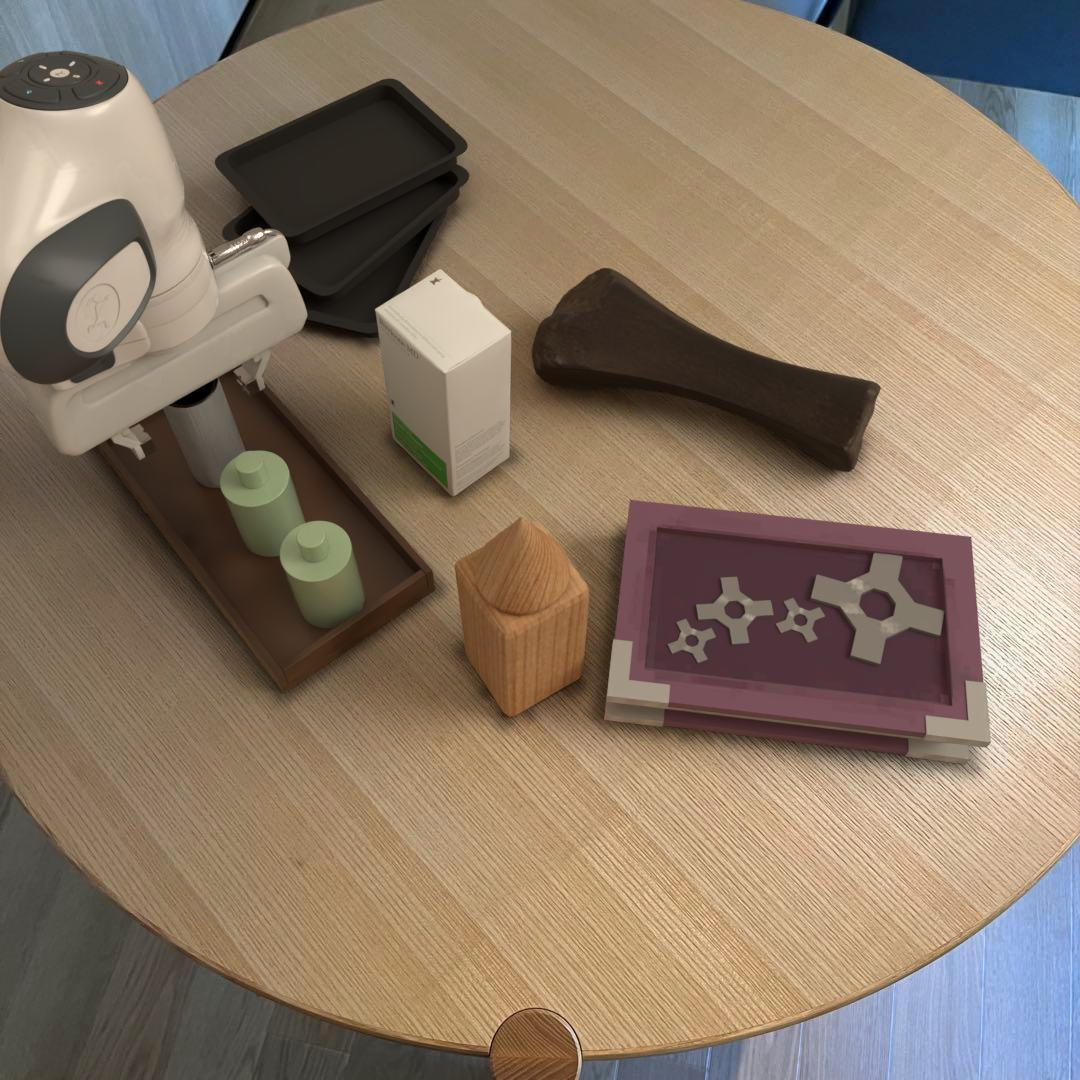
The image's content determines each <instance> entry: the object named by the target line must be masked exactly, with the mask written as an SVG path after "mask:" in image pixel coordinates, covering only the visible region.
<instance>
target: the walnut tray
mask: <svg viewBox="0 0 1080 1080" xmlns="http://www.w3.org/2000/svg"><path fill="white" fill-rule="evenodd" d="M241 366H242V364H241V365H239V366H237V367H235V368H234V369H232V370H230V371H228V372H227V373H225V374H223V375H221V376H219V377H218V378H219V380H220V383H221V386H222V388H223V391H224V394H225V397H226V399H227V402H228V405H229V407H230V410H231V413H232V415H233V418H234V421H235V424H236V426H237V429H238V432H239V434H240V437H241V440H242V442H243V445H244V448H245V451H268V452H271V453H274V454H276V455H278V456H279V457H281V458H282V459H283V460H284V461H285V463H286V464H287V466H288V469H289V472H290V475H291V478H292V481H293V484H294V487H295V490H296V494H297V497H298V500H299V503H300V506H301V509H302V512H303V515H304V518H305V521H306V523H308V522H312V521H327V522H331V523H334V524H336V525H338V526H339V527H341V528H342V529H343V530H344V531H345V532H346V533H347V534H348V536H349V538H350V541H351V544H352V548H353V551H354V555H355V559H356V562H357V566H358V570H359V574H360V577H361V581H362V585H363V588H364V593H365V600H364V604H363V607H362V609H361V610H360V611H359V612H357V613H356V614H354V615H353V616H351V617H350V618H349V619H347V620H346V621H344V622H343V623H341V624H340V625H338V626H337V627H335V628H330V629H325V628H319V627H316V626H314V625H312V624H310V623H308V622H307V621H306V620H305V619H304V618H303V617H302V615H301V614H300V611H299V609H298V606H297V604H296V601H295V598H294V596H293V593H292V591H291V588H290V585H289V583H288V580H287V577H286V575H285V572H284V569H283V567H282V564H281V561H280V556H276V557H265V556H260V555H257V554H255V553H253V552H251V551H250V550H249V549H248V548H247V547H246V546H245V544H244V542H243V540H242V538H241V536H240V533H239V531H238V528H237V526H236V524H235V521H234V519H233V517H232V514H231V512H230V510H229V507H228V505H227V502H226V500H225V498H224V495H223V493H222V491H221V488H209V487H206V486H203V485H202V484H200V483H199V482H198V481H197V480H196V479H195V478H194V476H193V474H192V472H191V470H190V468H189V465H188V463H187V461H186V459H185V457H184V454H183V452H182V450H181V448H180V445H179V443H178V441H177V439H176V437H175V434H174V432H173V430H172V428H171V425H170V423H169V421H168V419H167V417H166V414H165V412H164V410H163V409H161V410H159V411H157V412H155V413H154V414H152V415H150V416H148V417H147V418H145V419H143V420H141V421H139V422H138V423H136V424H134V425H132V426H131V427H129V429H130V428H132V427H134V426H136V425H138V424H140V425H141V426H142V427H143V428H144V430H145V432H146V433H148V435H149V436H150V437H151V439H152V441H153V443H154V446H155V447H156V449H157V451H155V452H153V453H151V454H150V455H148V456H146V457H145V458H143V459H142V460H139V459H138V458H137V457H136V456H135V454H134V453H133V452H132V450H131V449H130V448H128V447H125V446H122V445H119V444H116V443H114V442H113V441H112V440H111V439H110V438H109V439H107V440H106V441H104V442H102V443H100V444H99V445H97V446H95V448H96V449H97V451H98V452H99V453H100V454H101V455H102V457H103V458H104V459H105V461H106V462H107V463H108V465H109V466H110V468H111V469H112V470H113V472H115V474H116V475H117V476H118V478H119V479H120V480H121V482H122V483H123V484H124V486H125V487H126V488H127V489H128V491H129V492H130V493H131V495H132V496H133V497H134V499H135V500H136V502H137V503H138V504H139V506H140V507H141V508H142V510H144V512H145V513H146V514H147V515H148V517H149V519H151V521H152V522H153V524H154V525H155V526H156V527H157V529H158V530H159V532H160V533H161V534H162V535H163V536H164V538H165V539H166V540H167V542H168V543H169V544H170V546H171V547H172V548H173V550H174V551H175V552H176V554H177V555H178V556H179V558H180V559H181V560H182V562H183V563H184V564H185V565H186V567H187V568H188V570H189V571H190V572H191V574H192V575H193V576H194V577H195V579H196V580H197V581H198V583H199V584H200V585H201V587H202V588H203V590H205V592H206V593H207V594H208V596H209V598H211V599H212V601H213V602H214V603H215V605H216V606H217V608H218V609H219V610H220V611H221V613H222V614H223V616H224V617H225V618H226V619H227V621H228V622H229V623H230V625H231V626H232V627H233V629H234V630H235V631H236V633H237V634H238V635H239V636H240V638H241V639H242V640H243V642H244V643H245V644H246V645H247V647H248V648H249V649H250V651H251V652H252V653H253V655H254V656H255V657H256V659H257V660H258V661H259V662H260V664H261V665H262V666H263V668H264V669H265V670H266V671H267V673H268V675H269V676H270V677H271V679H272V680H273V681H274V682H275V683H276V685H277V686H278V687H279V689H280V690H281V691H282V693H283V694H286V693H288V692H289V691H291V690H292V689H294V687H296V686H298V685H299V684H301V683H302V682H304V681H306V680H307V679H308V678H309V677H311V676H312V675H314V674H315V673H316V672H318V671H320V670H321V669H323V668H324V667H325V666H327V665H328V664H329V663H332V662H333V661H334V660H335V659H337V658H339V657H340V656H341V655H343V654H344V653H345V652H347V651H348V650H350V649H351V648H353V647H354V646H356V645H357V644H358V643H360V642H362V641H363V640H364V639H366V638H367V637H369V636H370V635H372V634H374V632H376V631H378V630H379V629H380V628H382V627H384V626H385V625H387V624H388V623H389V622H391V621H392V620H393V619H395V618H396V617H398V616H399V615H401V614H402V613H404V612H405V611H406V610H408V609H409V608H411V607H413V606H414V605H415V604H417V603H419V602H420V601H421V600H423V599H424V598H425V597H427V596H429V595H430V594H431V593H433V592H434V591H435V590H436V586H435V585H436V584H435V578H434V573H433V569H432V568H431V567H430V566H429V564H428V563H427V562H426V561H425V559H423V558H422V557H421V555H419V554H418V552H417V551H416V550H415V548H413V547H412V546H411V545H410V543H409V542H408V541H407V540H406V539H405V538H404V537H403V535H402V534H401V533H400V532H399V530H398V529H396V528H395V527H394V526H393V524H392V523H391V522H390V521H389V520H388V519H387V518H386V516H385V515H384V514H383V513H382V511H380V510H379V509H378V508H377V507H376V505H375V504H374V503H373V502H372V500H370V499H369V497H368V496H367V495H366V494H365V493H364V492H363V491H362V490H361V489H360V488H359V486H358V485H357V484H356V483H355V482H354V480H352V479H351V477H350V476H349V475H348V474H347V473H346V472H345V471H344V469H343V468H342V467H341V466H340V465H339V464H338V463H337V462H336V461H335V460H334V458H333V457H332V456H331V455H330V454H329V453H328V452H327V451H326V449H325V448H323V446H322V445H321V444H320V443H319V442H318V441H317V440H316V438H315V437H314V436H313V435H312V434H311V432H310V431H308V429H307V428H306V427H305V426H304V424H302V423H301V422H300V421H299V419H298V418H297V417H296V416H295V415H294V413H292V411H291V410H290V409H289V408H288V407H287V406H286V405H285V404H284V403H283V401H282V400H281V399H280V398H279V396H277V394H275V392H274V391H272V389H271V388H270V387H269V386H268V385H267V384H266V382H264V384H265V389H263V390H261V391H260V392H258V393H256V394H254V395H252V396H250V397H248V396H247V395H246V393H245V391H242V390H241V388H240V387H239V385H238V383H237V381H236V380H237V378H236V377H235V375H234V372H233V371H234V370H236V369H237V368H239V367H241Z"/></svg>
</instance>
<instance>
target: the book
mask: <svg viewBox="0 0 1080 1080" xmlns="http://www.w3.org/2000/svg"><path fill="white" fill-rule="evenodd" d="M627 513H628V514H627V521H626V530H625V536H624V537H625V538H624V547H623V556H622V564H621V575H620V584H619V585H620V586H619V593H618V603H617V611H616V612H617V613H616V623H615V629H614V630H615V632H614V638H613V639H612V646H611V654H610V655H611V656H610V662H609V669H608V680H607V690H606V699H605V706H604V707H605V708H604V717H603V718H604V719H603V720H604V721H610V722H619V723H627V724H636V725H643V726H651V727H658V728H659V727H660V728H663V727H672V728H679V729H688V730H689V729H690V730H696V731H704V732H705V731H706V732H713V733H721V734H730V735H737V736H745V737H752V738H760V739H761V738H762V739H769V740H778V741H785V742H786V741H787V742H795V743H801V744H803V743H804V744H810V745H820V746H827V747H828V746H829V747H835V748H845V749H852V750H860V751H867V752H868V751H869V752H877V753H886V754H893V755H901V756H904V757H905V758H913V759H921V760H929V761H937V762H944V763H954V764H960V765H966V764H967V763H968V762H969V761H970V760H971V756H970V755H971V754H970V747H978V748H985V749H986V748H987V747H989V746H990V744H991V743H992V737H991V727H990V715H989V704H988V702H989V701H988V691H987V682H984V672H983V660H982V648H981V637H980V625H979V624H980V623H979V613H978V611H979V610H978V601H977V589H976V577H975V564H974V554H973V553H974V552H973V540H972V536H970V535H969V536H968V535H959V534H950V533H942V532H941V533H939V532H931V531H921V530H912V529H904V528H894V527H886V526H875V525H867V524H858V523H848V522H839V521H831V520H822V519H811V518H802V517H793V516H785V515H774V514H766V513H757V512H748V511H747V512H746V511H737V510H730V509H729V510H728V509H720V508H711V507H701V506H692V505H682V504H674V503H673V504H671V503H664V502H655V501H645V500H637V499H629V505H628V511H627Z"/></svg>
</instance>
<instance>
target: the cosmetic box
mask: <svg viewBox="0 0 1080 1080" xmlns="http://www.w3.org/2000/svg"><path fill="white" fill-rule="evenodd" d="M375 312H376V318H377V325H378V332H379V336H378V338H379V346H380V353H381V362H382V368H383V376H384V383H385V390H386V398H387V405H388V412H389V413H388V414H389V420H390V426H391V436H392V439H393V440H394V442H395V443H397V445H398V446H400V447H401V448H402V449H403V450H404V451H405V452H406V453H407V454H408V455H409V456H410V458H412V459H413V460H414V461H415V462H416V463H417V464H418V465H419V466H420V467H421V468H422V469H423V470H424V471H425V472H426V473H427V474H429V475H430V477H431V478H433V480H434V481H436V483H438V484H439V486H440V487H442V488H443V489H444V491H445V492H447V494H449V495H450V496H451V497H455V496H457V495H458V494H459V493H461V492H462V491H464V490H466V489H467V488H468V487H470V486H471V485H472V484H474V483H476V482H477V481H478V480H479V479H481V478H482V477H484V476H485V475H486V474H488V473H489V472H491V471H492V470H494V469H495V468H496V467H498V466H499V465H501V464H502V463H503V462H505V461H506V460H508V459H509V458H510V457H511V456H510V455H511V454H510V450H511V448H510V445H511V442H510V441H511V440H510V439H511V437H510V436H511V382H512V381H511V372H512V371H511V369H512V366H511V365H512V364H511V363H512V330H511V329H509V328H508V327H507V326H506V325H505V324H504V323H502V321H500V319H498V318H497V317H496V316H495V315H494V314H493V313H491V312H490V311H489V309H487V308H486V307H485V306H484V305H483V303H482V301H481V299H480V298H479V297H478V296H477V295H475V294H474V293H472V292H469V291H466V290H465V289H464V288H463V287H462V286H461V285H460V284H458V282H456V281H455V280H454V279H453V278H451V277H450V276H449V275H448V274H447V273H446V272H444V271H443V270H442V269H440V268H439V269H438V270H435V271H434V272H433V273H431V274H430V275H428V276H426V277H425V278H423V279H421V280H419V281H418V282H417V283H415V284H414V285H412V286H411V287H410V286H409V287H408V289H407V290H405V291H404V292H402V293H401V294H399V295H397V296H396V297H394V298H392V299H391V300H389V301H387V302H386V303H384V304H382V305H381V306H379V307H378V308H376V309H375Z"/></svg>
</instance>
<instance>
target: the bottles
mask: <svg viewBox="0 0 1080 1080" xmlns="http://www.w3.org/2000/svg"><path fill="white" fill-rule="evenodd" d="M220 487H221V491H222V493H223V495H224V498H225V500H226V502H227V505H228V507H229V510H230V512H231V514H232V517H233V519H234V521H235V524H236V526H237V528H238V531H239V533H240V536H241V538H242V540H243V542H244V544H245V546H246V547H247V548H248V549H249V550H250V551H251V552H253V553H255V554H257V555H260V556H265V557H276V556H280V561H281V564H282V567H283V569H284V572H285V575H286V577H287V580H288V583H289V585H290V588H291V591H292V593H293V596H294V598H295V601H296V604H297V606H298V609H299V611H300V614H301V615H302V617H303V618H304V619H305V620H306V621H307V622H308V623H310V624H312V625H314V626H316V627H319V628H325V629H330V628H335V627H337V626H338V625H340V624H341V623H343V622H344V621H346V620H347V619H349V618H350V617H351V616H353V615H354V614H356V613H357V612H359V611H360V610H361V609H362V607H363V604H364V600H365V593H364V588H363V585H362V581H361V577H360V574H359V570H358V566H357V562H356V559H355V555H354V551H353V548H352V544H351V541H350V538H349V536H348V534H347V533H346V532H345V531H344V530H343V529H342V528H341V527H339V526H338V525H336V524H334V523H331V522H327V521H312V522H308V523H306V521H305V518H304V515H303V512H302V509H301V506H300V503H299V500H298V497H297V494H296V490H295V487H294V484H293V481H292V478H291V475H290V472H289V469H288V466H287V464H286V463H285V461H284V460H283V459H282V458H281V457H279V456H278V455H276V454H274V453H271V452H268V451H246V452H243V453H241V454H240V455H239V456H237V457H236V458H234V459H233V460H232V461H230V462H229V463H228V464H227V466H226V467H225V468H224V470H223V472H222V474H221V478H220Z"/></svg>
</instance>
